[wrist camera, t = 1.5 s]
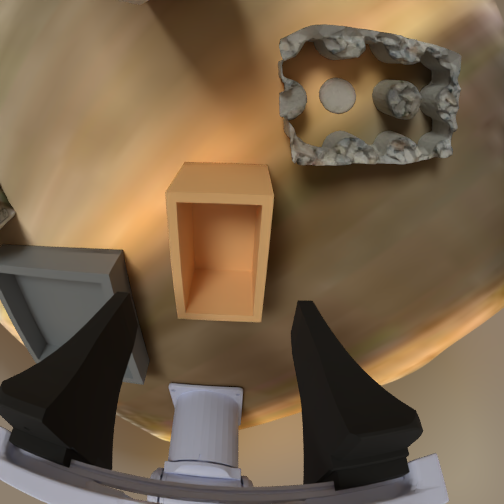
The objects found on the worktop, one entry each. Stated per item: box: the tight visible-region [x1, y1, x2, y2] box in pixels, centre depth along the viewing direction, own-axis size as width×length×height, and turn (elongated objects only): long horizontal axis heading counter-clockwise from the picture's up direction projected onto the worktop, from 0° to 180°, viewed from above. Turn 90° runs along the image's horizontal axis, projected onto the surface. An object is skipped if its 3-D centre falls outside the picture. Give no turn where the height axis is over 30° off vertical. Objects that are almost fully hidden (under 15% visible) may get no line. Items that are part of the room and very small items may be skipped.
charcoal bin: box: [0, 245, 149, 385], centre depth 23 cm, size 13×13×3 cm
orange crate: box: [165, 162, 274, 322], centre depth 18 cm, size 8×5×5 cm, turn 177°
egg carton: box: [278, 25, 461, 166], centre depth 14 cm, size 11×8×4 cm
